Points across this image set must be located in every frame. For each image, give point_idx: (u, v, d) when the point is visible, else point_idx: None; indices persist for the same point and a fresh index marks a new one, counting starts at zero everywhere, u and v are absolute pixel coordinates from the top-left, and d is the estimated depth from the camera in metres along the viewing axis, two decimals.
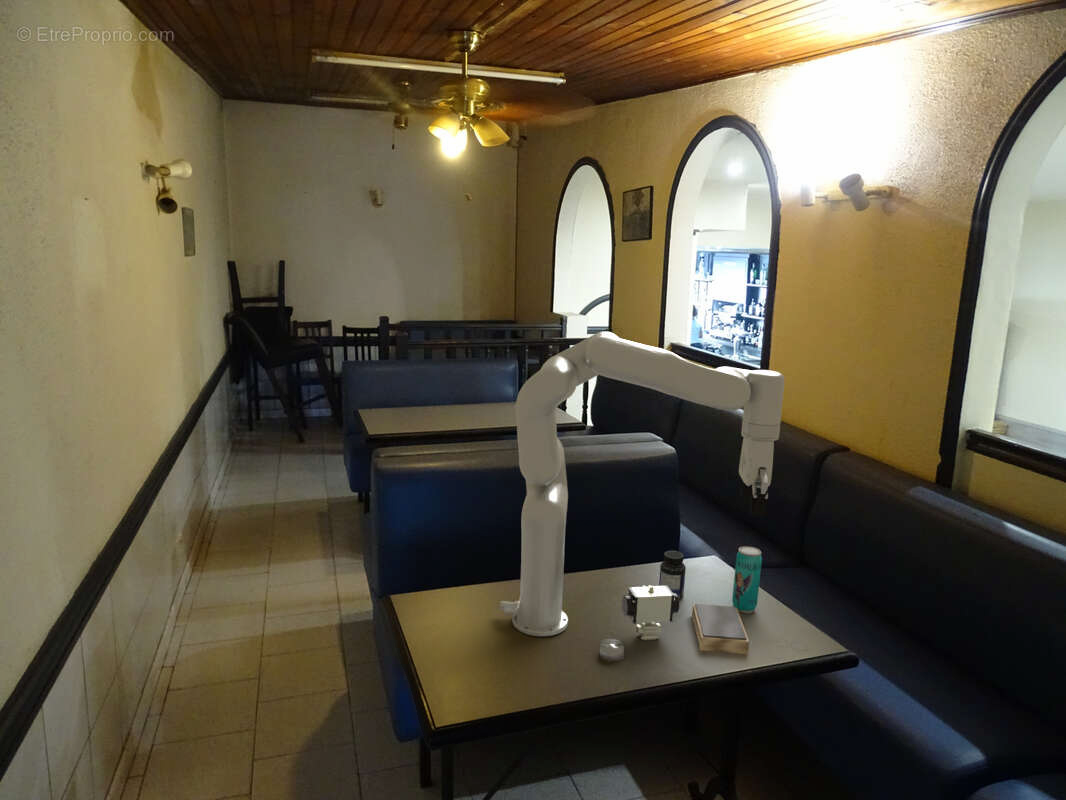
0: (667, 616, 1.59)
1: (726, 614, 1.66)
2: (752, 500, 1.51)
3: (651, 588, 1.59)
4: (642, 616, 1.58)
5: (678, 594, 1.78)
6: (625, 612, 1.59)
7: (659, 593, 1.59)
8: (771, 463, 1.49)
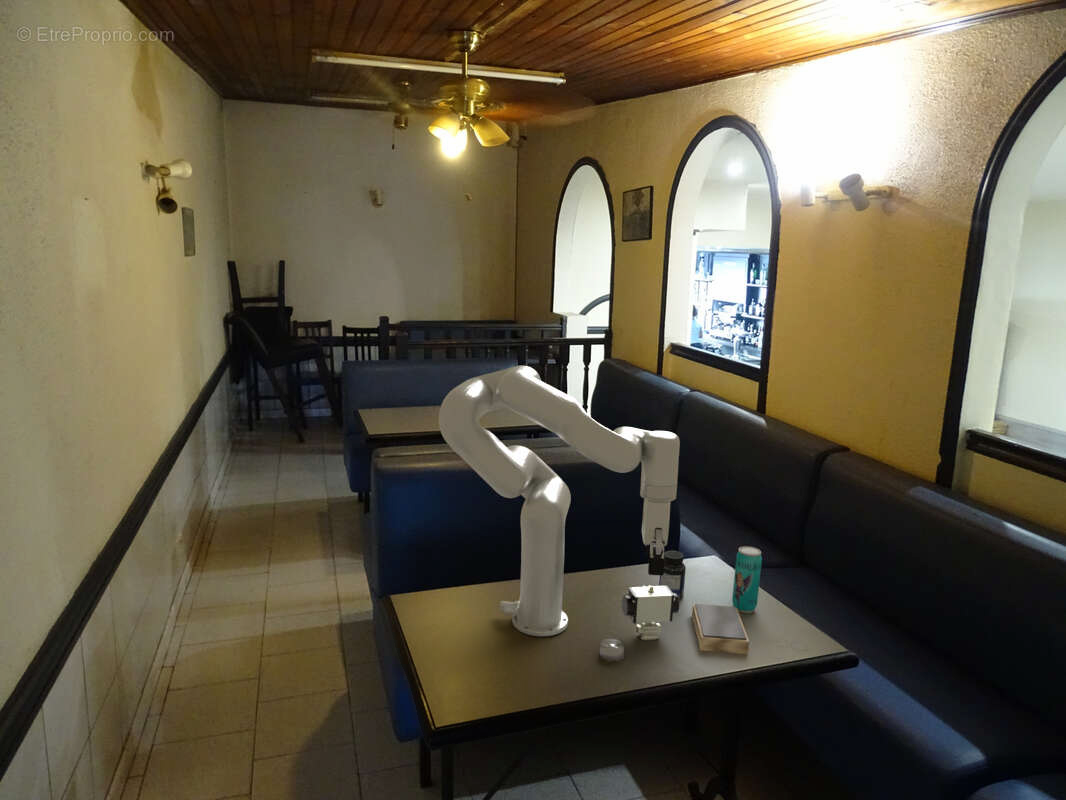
0: (667, 616, 1.59)
1: (726, 614, 1.66)
2: (650, 559, 1.53)
3: (651, 588, 1.59)
4: (642, 616, 1.58)
5: (678, 594, 1.78)
6: (625, 612, 1.59)
7: (659, 593, 1.59)
8: (667, 524, 1.52)
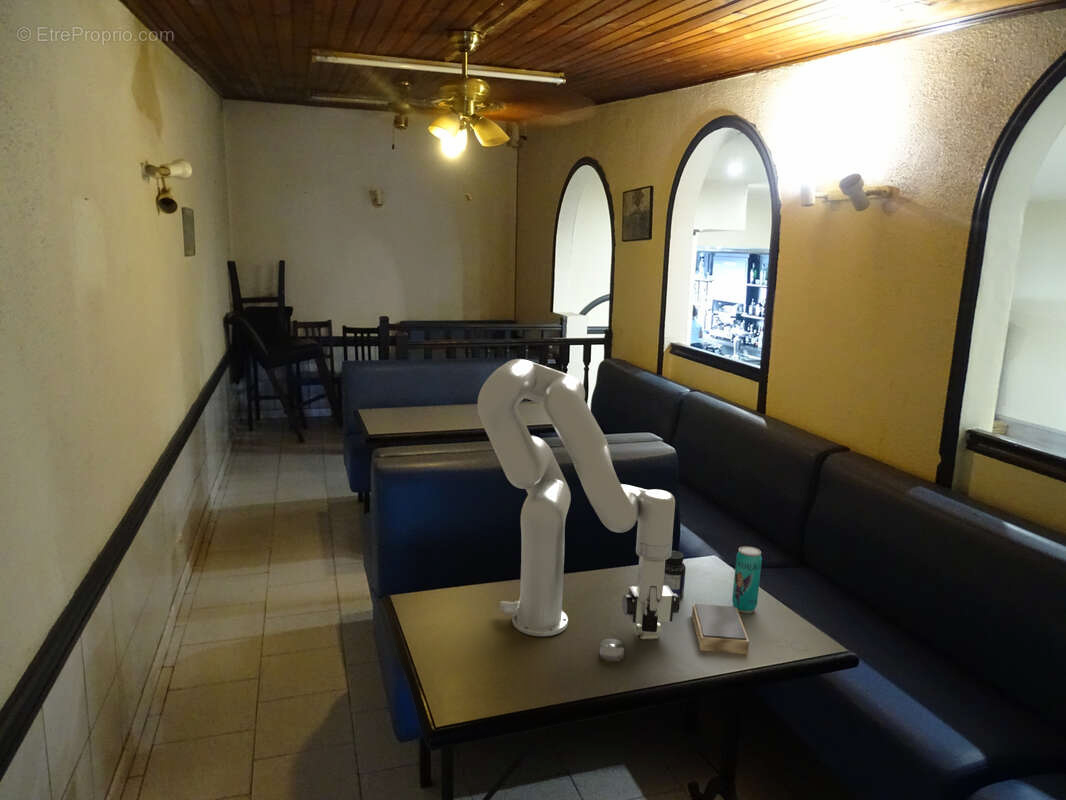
0: (667, 616, 1.59)
1: (726, 614, 1.66)
2: (643, 617, 1.58)
3: None
4: (642, 615, 1.58)
5: (678, 594, 1.78)
6: (625, 611, 1.59)
7: None
8: (662, 582, 1.54)
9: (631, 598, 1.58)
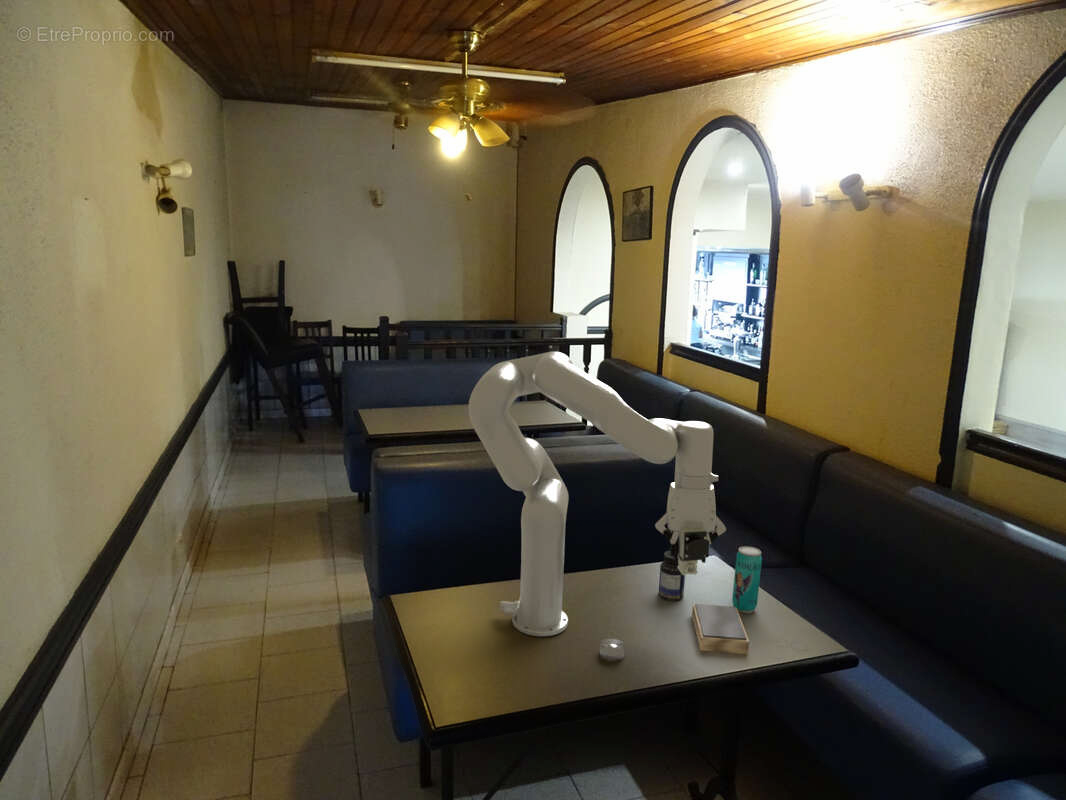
0: (682, 553, 1.55)
1: (726, 614, 1.66)
2: None
3: None
4: None
5: (678, 594, 1.78)
6: None
7: None
8: (670, 507, 1.55)
9: None
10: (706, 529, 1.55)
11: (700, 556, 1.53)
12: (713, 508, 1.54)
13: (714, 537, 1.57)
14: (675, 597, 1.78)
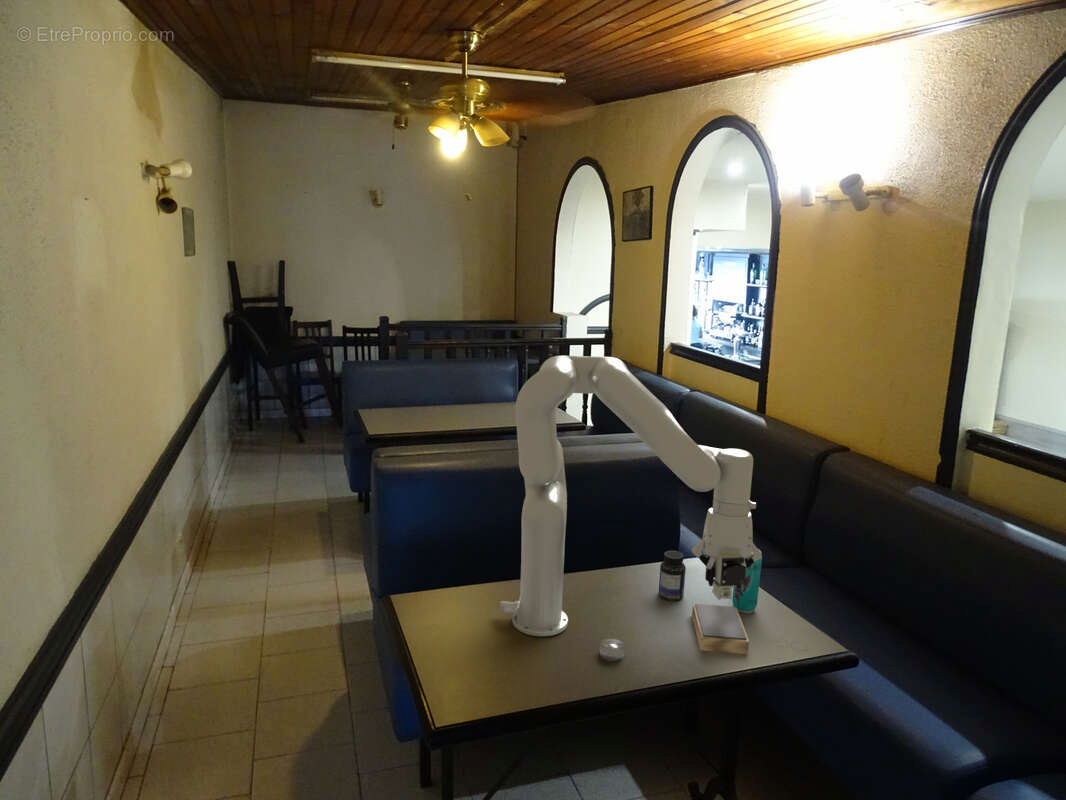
0: (719, 578, 1.57)
1: (726, 614, 1.66)
2: None
3: None
4: None
5: (678, 594, 1.78)
6: None
7: None
8: (707, 533, 1.58)
9: None
10: (743, 555, 1.58)
11: (737, 582, 1.55)
12: (750, 535, 1.56)
13: (750, 563, 1.59)
14: (675, 597, 1.78)
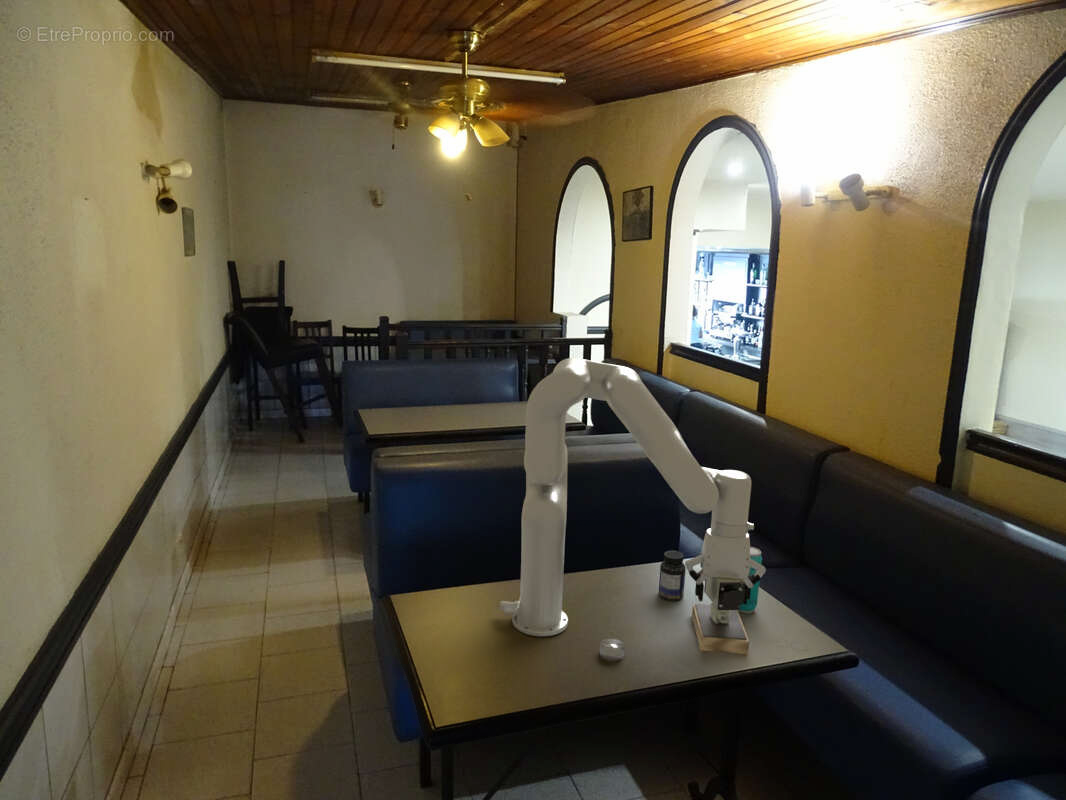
0: (716, 602, 1.59)
1: None
2: None
3: None
4: (707, 589, 1.64)
5: (678, 594, 1.78)
6: None
7: None
8: (705, 554, 1.59)
9: None
10: (740, 576, 1.59)
11: (734, 607, 1.56)
12: (748, 556, 1.57)
13: (756, 580, 1.60)
14: (675, 597, 1.78)
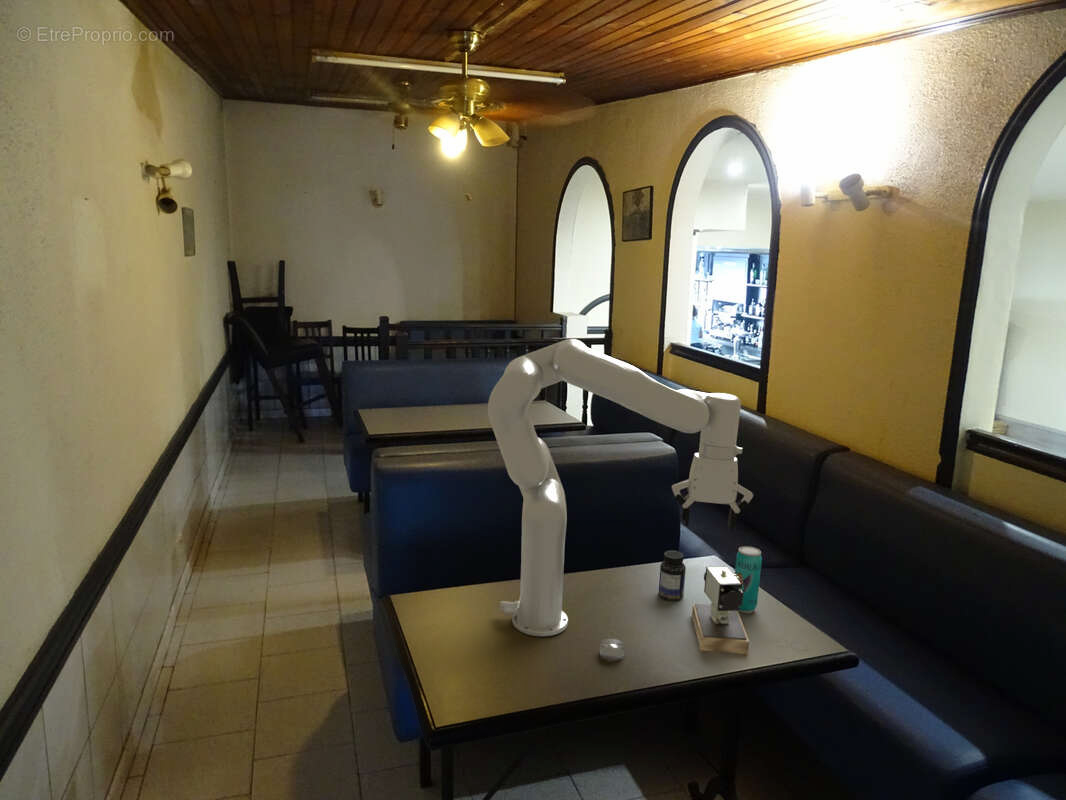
0: (716, 603, 1.59)
1: None
2: None
3: (722, 571, 1.61)
4: (707, 589, 1.64)
5: (678, 594, 1.78)
6: None
7: (720, 578, 1.59)
8: (692, 477, 1.57)
9: None
10: (727, 500, 1.57)
11: (734, 607, 1.56)
12: (735, 480, 1.56)
13: (743, 505, 1.58)
14: (675, 597, 1.78)
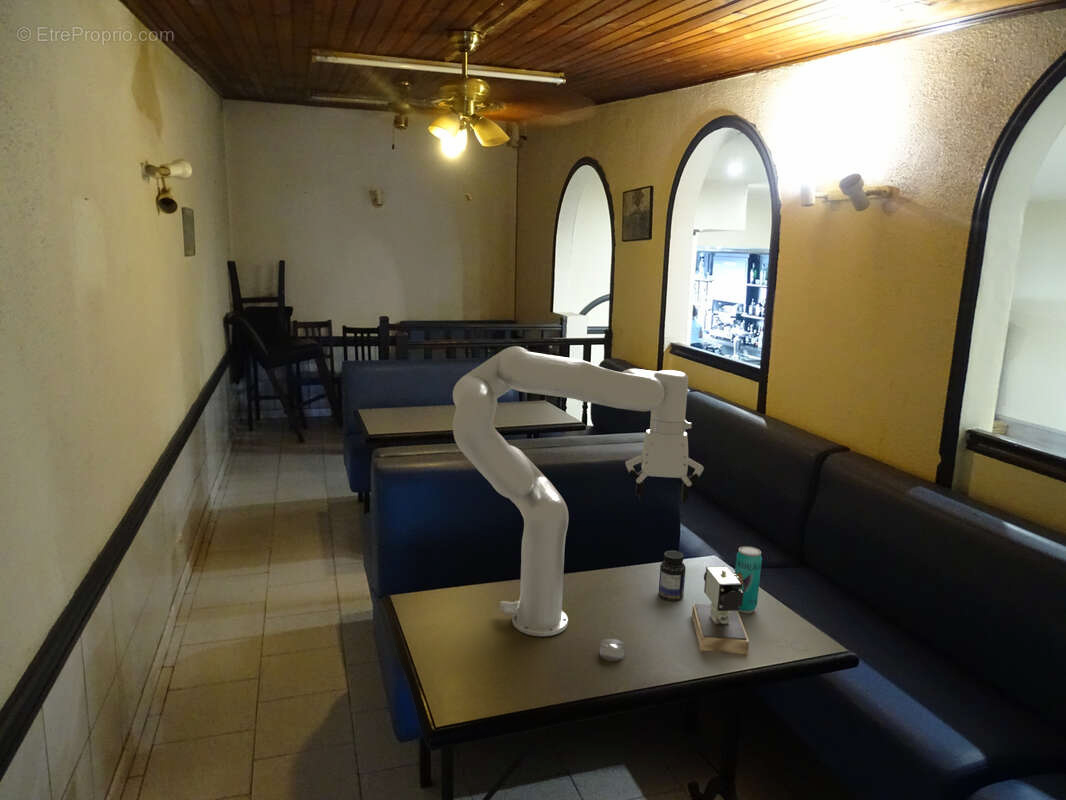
0: (716, 603, 1.59)
1: None
2: None
3: (722, 571, 1.61)
4: (707, 589, 1.64)
5: (678, 594, 1.78)
6: None
7: (720, 578, 1.59)
8: (644, 452, 1.62)
9: None
10: (678, 474, 1.62)
11: (734, 607, 1.56)
12: (686, 454, 1.61)
13: (695, 478, 1.63)
14: (675, 597, 1.78)
